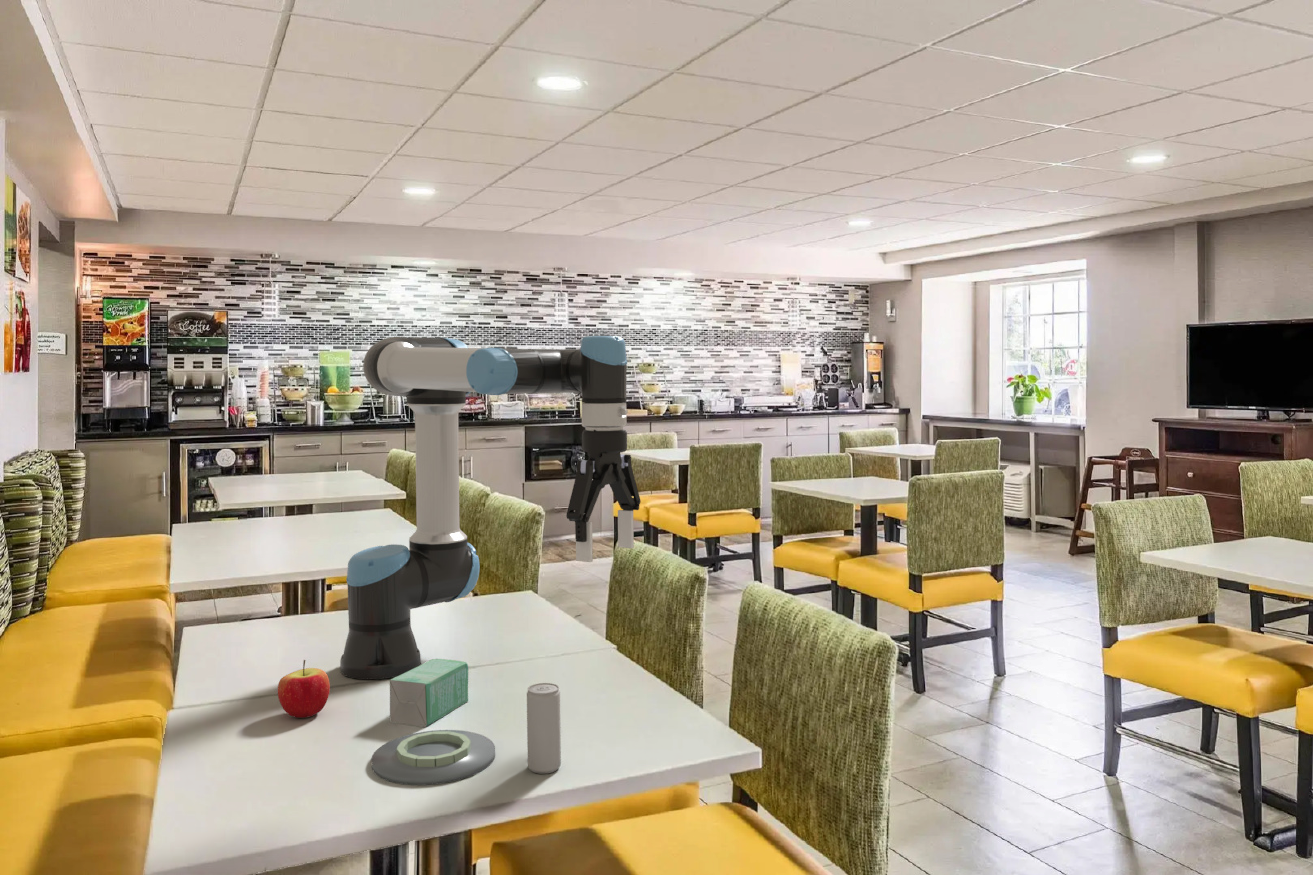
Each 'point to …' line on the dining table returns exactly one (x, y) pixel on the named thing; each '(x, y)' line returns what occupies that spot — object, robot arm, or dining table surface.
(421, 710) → the box
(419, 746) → the tray
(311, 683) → the apple
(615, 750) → the dining table surface
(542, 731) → the beverage can
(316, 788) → the dining table surface
